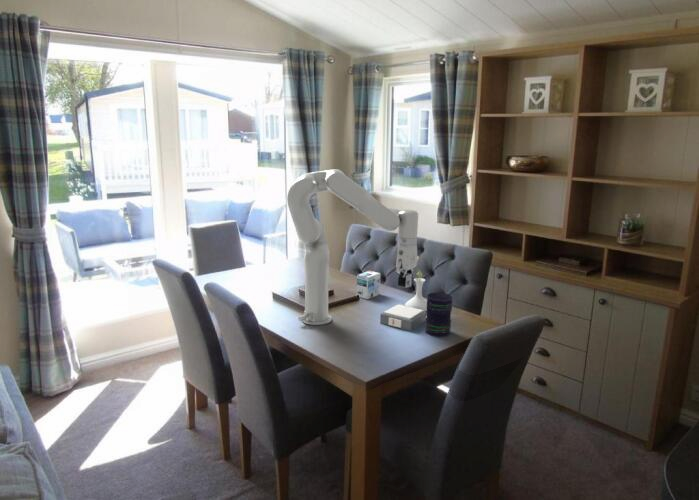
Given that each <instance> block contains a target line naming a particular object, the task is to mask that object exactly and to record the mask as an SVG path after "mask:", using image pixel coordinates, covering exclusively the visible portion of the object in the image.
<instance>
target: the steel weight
mask: <svg viewBox="0 0 699 500" xmlns="http://www.w3.org/2000/svg"><path fill="white" fill-rule="evenodd" d="M405 277H406V286H405V287H404V288H411V287H412V283H411V281H412V282H413V276H412V274H411V273H408V272H406V274H405ZM399 287H400V288H403V287H402V286H399Z"/></svg>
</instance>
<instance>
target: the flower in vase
mask: <svg viewBox="0 0 699 500" xmlns="http://www.w3.org/2000/svg"><path fill="white" fill-rule="evenodd" d="M419 260H420V256H418V255H417V263H418V262H419ZM416 269H417V272H416V275H417V277H416V278H414V279H413V280H414V282H415V285H416V292H415V293H416V294H415V296H413V297H412V298H410V299H408V301H406V303H405V305H404V306H408V307H412V308H416V309H421V310H423V311H425V312H427V299H425V298H424V297H423V294H422V293H423V292H422V291H423V290H422V289H423V286H424V285H423V284H424V283H425V282H426V279H425V278H422V277H423V272H422V271H421V270H420V269H419V267H418V265H417V266H416Z"/></svg>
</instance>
